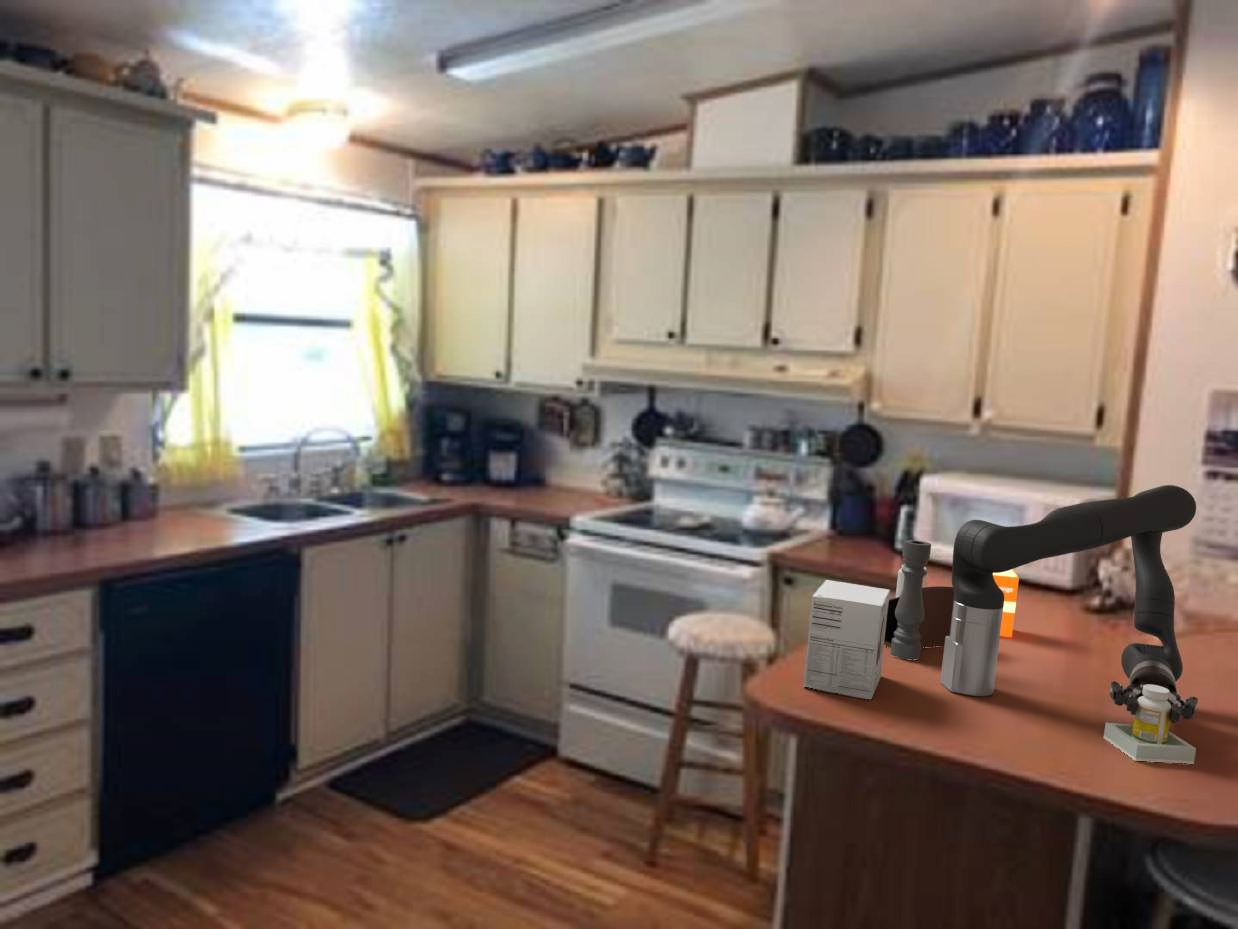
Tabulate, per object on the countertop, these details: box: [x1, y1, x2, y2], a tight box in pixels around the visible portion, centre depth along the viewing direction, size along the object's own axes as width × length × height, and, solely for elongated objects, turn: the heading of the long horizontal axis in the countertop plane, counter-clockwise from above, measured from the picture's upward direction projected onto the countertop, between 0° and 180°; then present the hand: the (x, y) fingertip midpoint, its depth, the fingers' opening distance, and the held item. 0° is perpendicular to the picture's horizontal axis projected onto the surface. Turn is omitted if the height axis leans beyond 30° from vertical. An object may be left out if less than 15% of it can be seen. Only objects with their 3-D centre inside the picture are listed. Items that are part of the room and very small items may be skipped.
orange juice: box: [993, 568, 1020, 638], centre depth 244 cm, size 8×9×20 cm
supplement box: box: [803, 579, 891, 701], centre depth 196 cm, size 17×13×18 cm
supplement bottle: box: [1132, 684, 1172, 745], centre depth 171 cm, size 5×5×10 cm
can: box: [895, 563, 930, 598], centre depth 257 cm, size 8×8×12 cm
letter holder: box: [884, 586, 954, 649], centre depth 229 cm, size 10×20×14 cm, turn 118°
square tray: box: [1103, 722, 1197, 765], centre depth 171 cm, size 10×10×3 cm
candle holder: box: [889, 539, 932, 660], centre depth 216 cm, size 6×6×25 cm
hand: (1153, 713), depth 168 cm, fingers closed on supplement bottle, 5 cm apart
